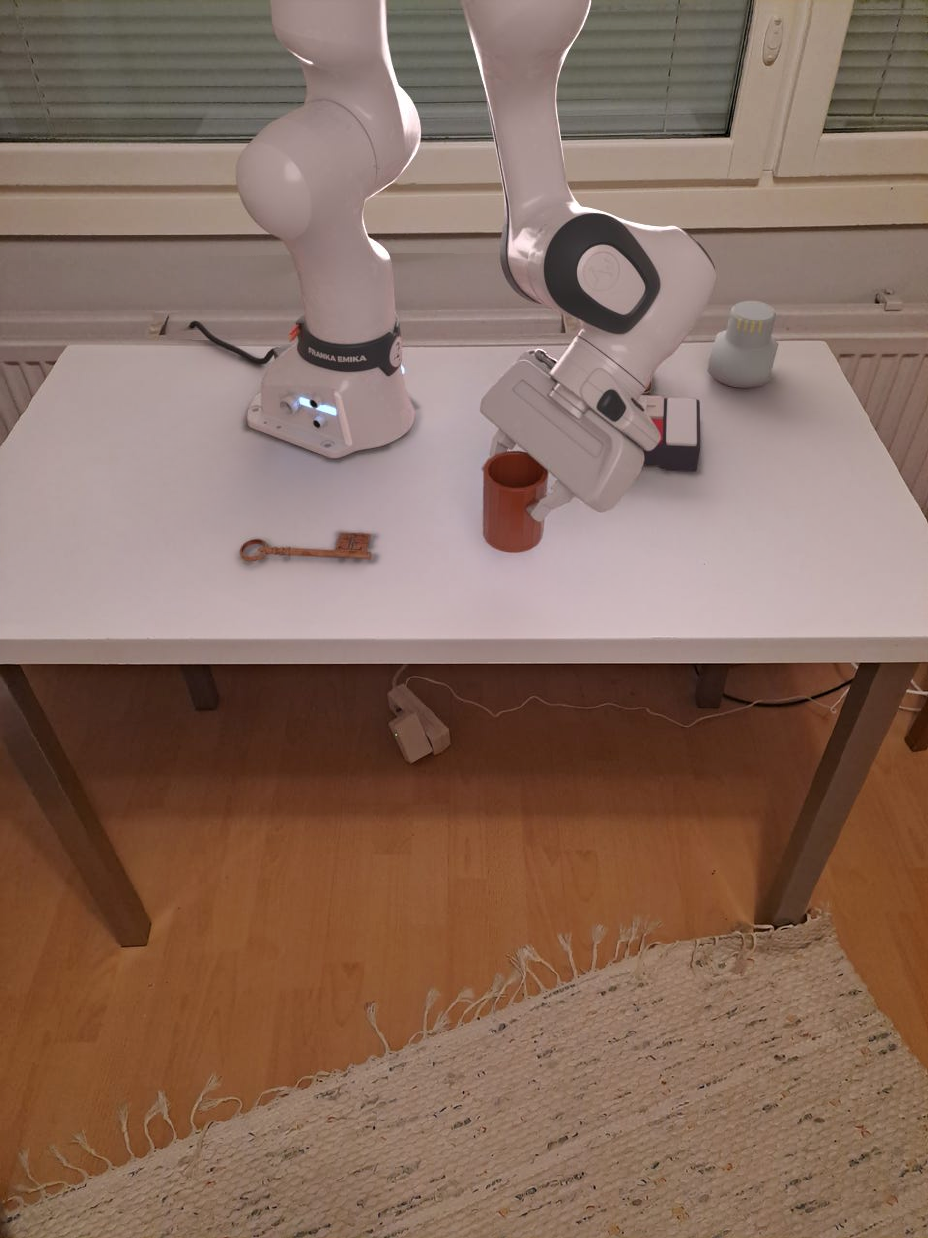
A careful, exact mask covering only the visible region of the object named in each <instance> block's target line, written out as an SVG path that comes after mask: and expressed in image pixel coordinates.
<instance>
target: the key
mask: <svg viewBox="0 0 928 1238" xmlns="http://www.w3.org/2000/svg"><path fill="white" fill-rule="evenodd" d="M370 538H371V533H362V532H361V533H360V532H341V531H340V532H339V534H338V538H337V542H336V545H335V548H334V549H318V548H301V547H300V548H299V547H298V548H297V547H290V546H287V547H283V546H280V547H277V546H272V547H270V546H268V544H267V542H266V541H265V540H264V539H261V538H253V539H250V540H248V541H246V542H245V543H243V544H242V546H241V547H240V549H239V556H240V558H241V559H242V560H244V561H246V562H256V561H259V560H260V559H262V558H264V557H265V556H266V555H267V554H271V555H280V556H283V555H286V556H288V557H290V556H303V557H304V556H306V557H325V558H344V559H345V558H346V559H364V560H365V559H366V560H371V559H372V551H367V550H368V548H369V543H370ZM252 545H261V546H262V547H258V548H257V549H256V551H257V552H258V553H259V554H257V555H252V556H249V555H245V554H244V551H245V550H246V549H247V548H248V547H250V546H252Z"/></svg>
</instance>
